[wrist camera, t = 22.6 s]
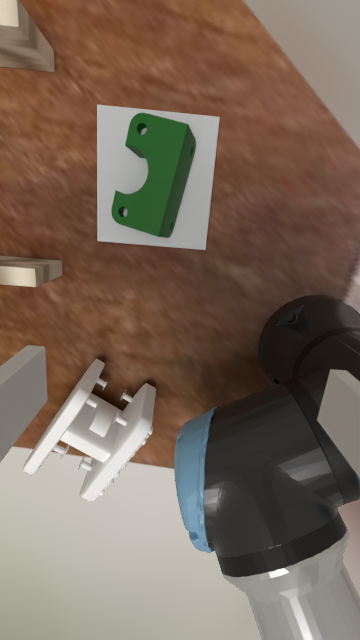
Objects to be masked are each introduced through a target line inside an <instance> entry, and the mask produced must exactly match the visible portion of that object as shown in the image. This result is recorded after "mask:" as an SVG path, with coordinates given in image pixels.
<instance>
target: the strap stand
mask: <svg viewBox="0 0 360 640" xmlns="http://www.w3.org/2000/svg"><path fill="white" fill-rule="evenodd" d="M0 67H8V68H18V69H27V70H37V71H46V72H55V67H54V50H53V49H52V47H51V46H50V44H49V43H48V42H47V40H46V39H45V37H44V36H43V34H42V33H41V32H40V30H39V29H38V27H37V26H36V24H35V23H34V22H33V20H32V19H31V17H30V16H29V14H28V13H27V12H26V10H25V9H24V7H23V6H22V4H21V3H20V2H19V0H0ZM62 275H63V273H62V260H50V259H38V258H25V257H13V256H1V255H0V284H5V285H18V286H30V287H37V286H39V285H42V284H44V283H46V282H48V281H51V280H53V279H55V278H58V277H60V276H62Z"/></svg>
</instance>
